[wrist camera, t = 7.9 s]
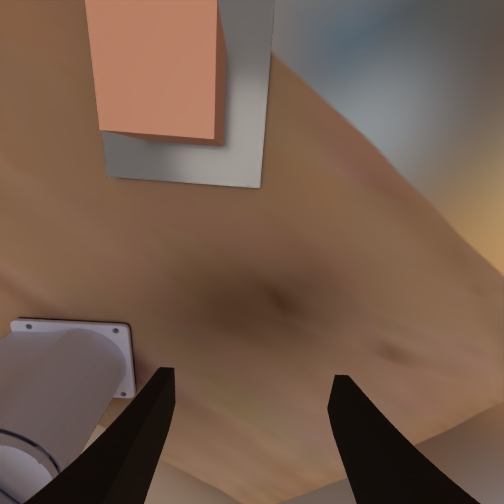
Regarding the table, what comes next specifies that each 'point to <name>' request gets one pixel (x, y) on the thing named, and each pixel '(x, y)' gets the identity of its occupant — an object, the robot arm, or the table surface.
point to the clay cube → (159, 69)
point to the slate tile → (236, 114)
